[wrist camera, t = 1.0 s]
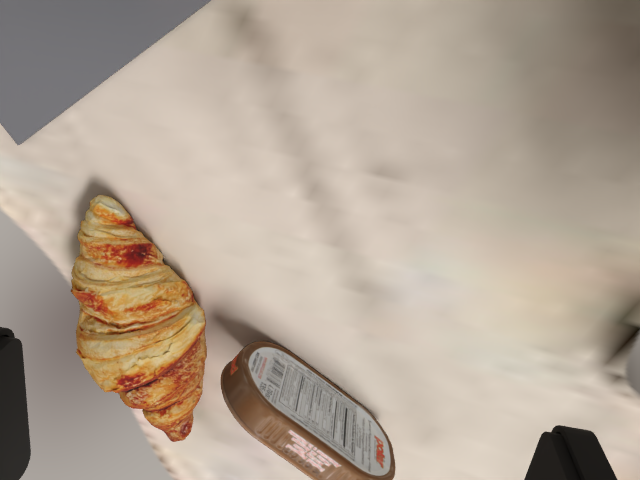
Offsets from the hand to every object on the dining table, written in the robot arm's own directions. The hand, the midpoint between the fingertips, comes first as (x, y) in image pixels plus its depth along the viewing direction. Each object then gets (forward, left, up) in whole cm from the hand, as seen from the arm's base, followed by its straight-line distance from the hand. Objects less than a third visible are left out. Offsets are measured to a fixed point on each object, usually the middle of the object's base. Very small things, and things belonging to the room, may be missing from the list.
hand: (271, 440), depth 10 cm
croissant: (+22, +5, -31) cm, 38 cm away
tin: (+14, +17, -31) cm, 38 cm away
